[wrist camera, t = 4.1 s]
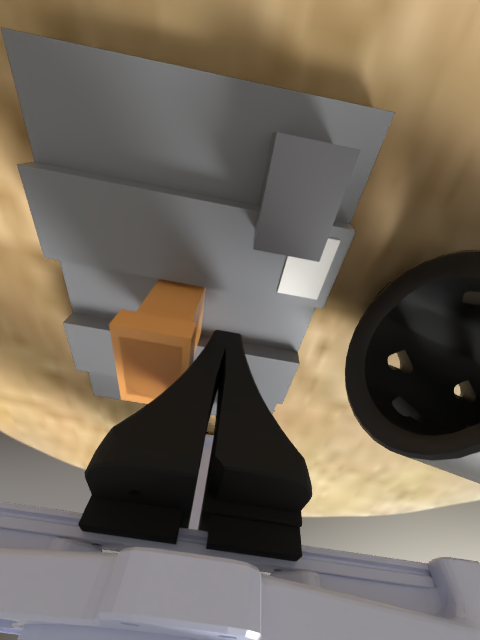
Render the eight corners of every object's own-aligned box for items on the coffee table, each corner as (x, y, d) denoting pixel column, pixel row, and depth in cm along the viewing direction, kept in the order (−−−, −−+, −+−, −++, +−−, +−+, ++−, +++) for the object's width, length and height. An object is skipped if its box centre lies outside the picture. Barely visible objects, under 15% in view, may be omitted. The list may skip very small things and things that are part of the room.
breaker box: (268, 403, 23) (269, 469, 18) (106, 376, 22) (67, 437, 18) (375, 115, 11) (451, 104, 7) (40, 43, 11) (-122, -22, 6)
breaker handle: (204, 340, 16) (185, 410, 12) (156, 332, 16) (120, 399, 12) (212, 277, 14) (191, 338, 10) (154, 266, 14) (108, 324, 9)
